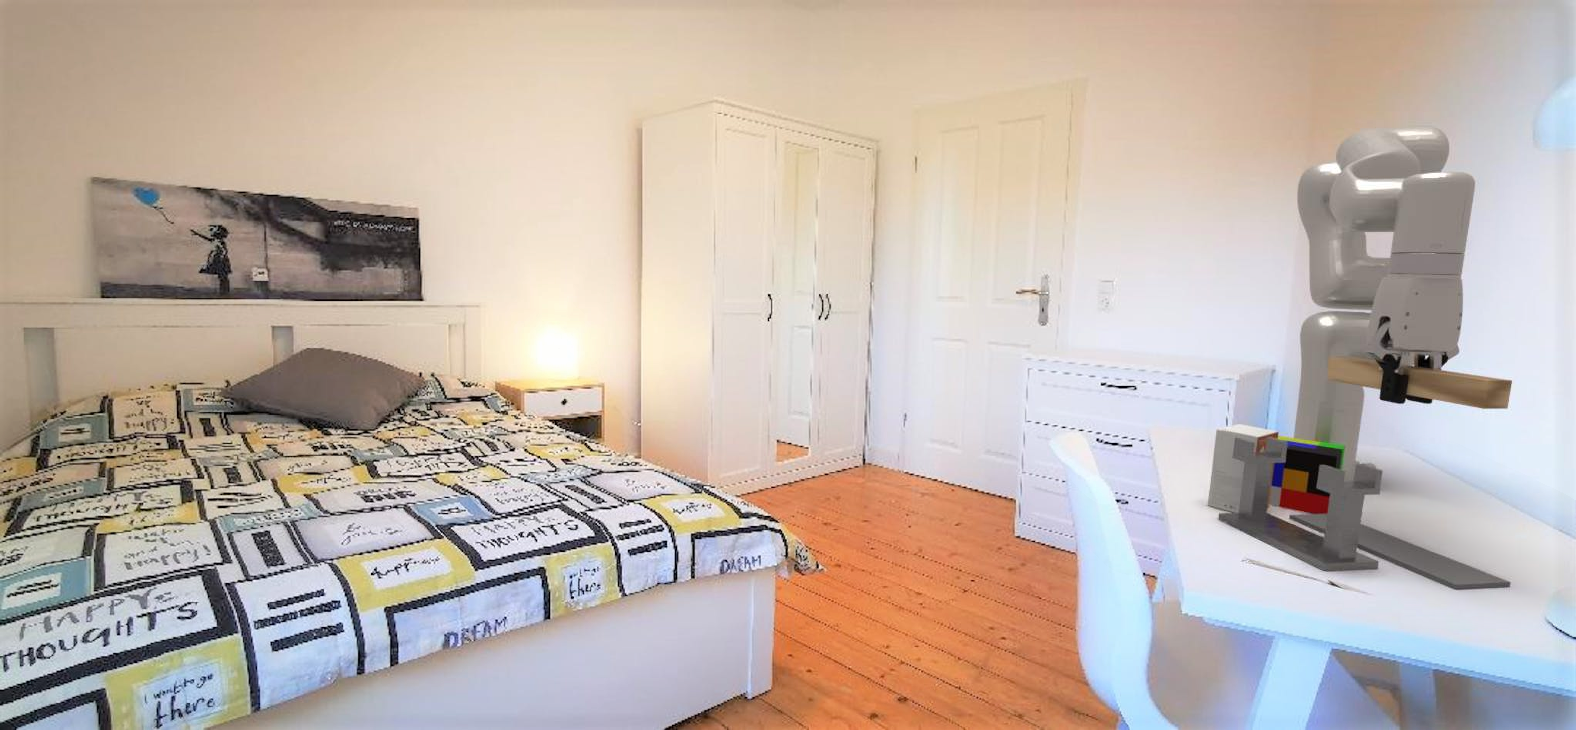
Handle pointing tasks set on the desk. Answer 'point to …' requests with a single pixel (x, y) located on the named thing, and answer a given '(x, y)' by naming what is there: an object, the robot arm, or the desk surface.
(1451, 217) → the robot arm
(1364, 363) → the rail
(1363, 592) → the silver long thin piece
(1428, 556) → the mat
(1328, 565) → the rack
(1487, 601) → the desk surface
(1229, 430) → the small box
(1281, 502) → the puzzle toy
